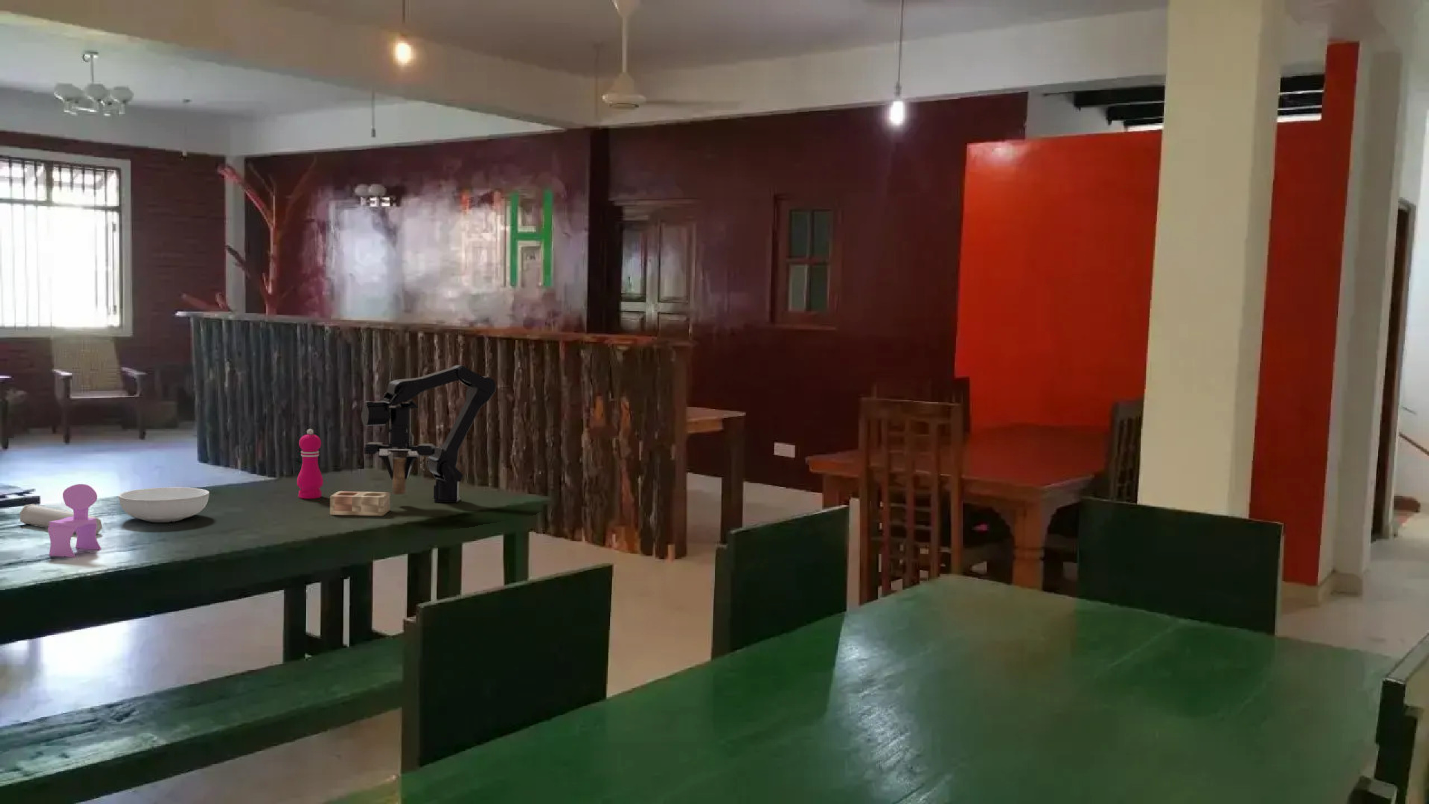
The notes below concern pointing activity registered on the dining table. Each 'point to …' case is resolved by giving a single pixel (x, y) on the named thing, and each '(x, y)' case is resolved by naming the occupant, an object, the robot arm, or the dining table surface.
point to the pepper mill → (310, 467)
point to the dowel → (399, 475)
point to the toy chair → (74, 522)
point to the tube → (47, 516)
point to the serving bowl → (163, 503)
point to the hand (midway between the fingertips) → (399, 479)
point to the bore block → (359, 503)
